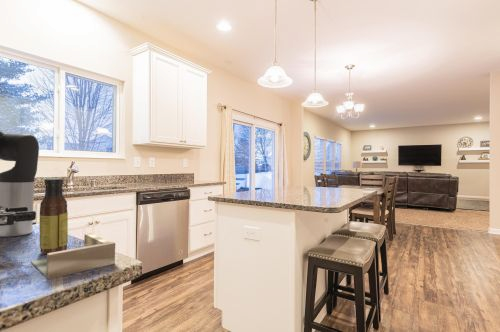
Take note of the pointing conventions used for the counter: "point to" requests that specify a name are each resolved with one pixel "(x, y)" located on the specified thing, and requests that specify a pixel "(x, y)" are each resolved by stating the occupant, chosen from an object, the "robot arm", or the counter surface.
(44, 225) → the sauce bottle
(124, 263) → the counter surface
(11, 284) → the counter surface
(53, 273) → the beige l-shaped piece
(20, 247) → the counter surface
